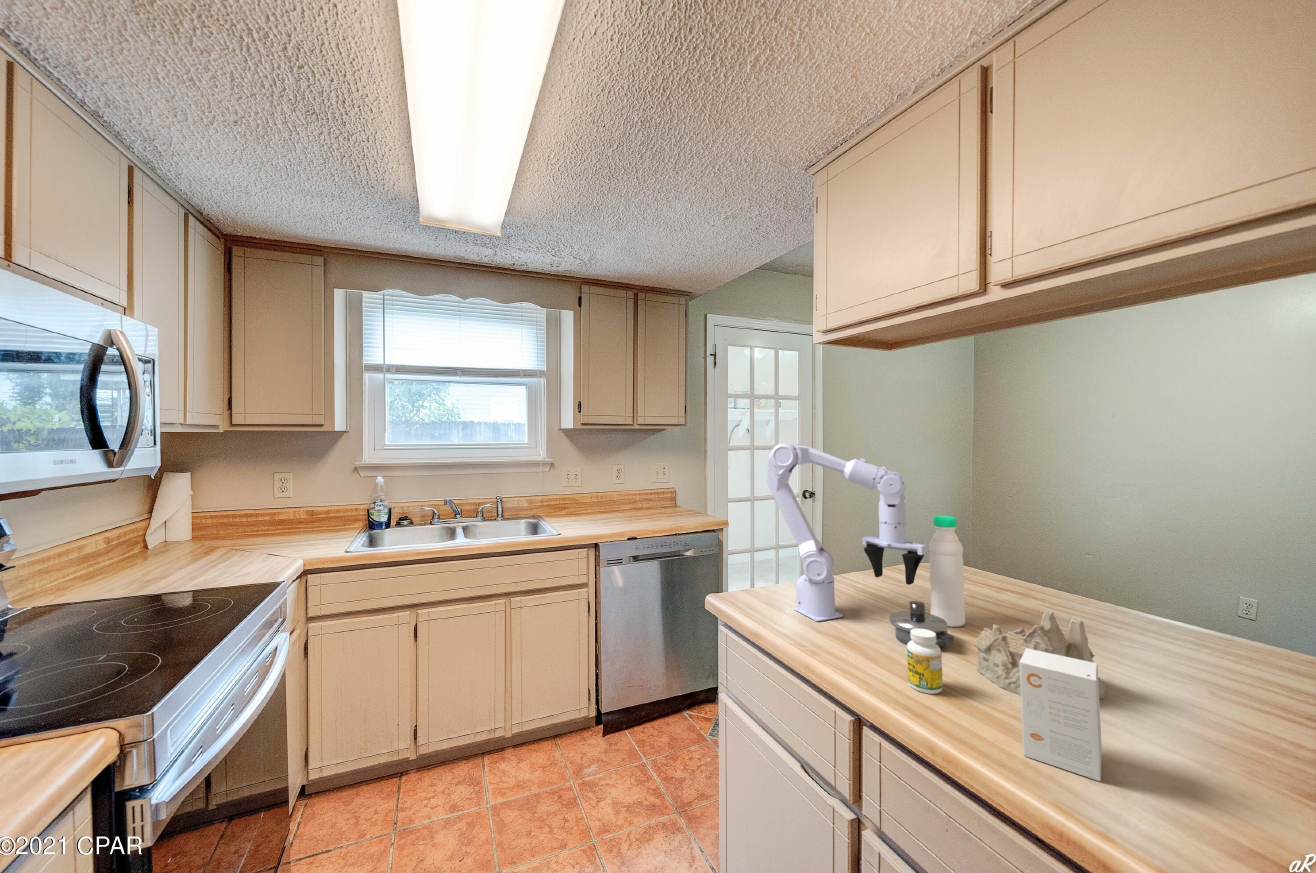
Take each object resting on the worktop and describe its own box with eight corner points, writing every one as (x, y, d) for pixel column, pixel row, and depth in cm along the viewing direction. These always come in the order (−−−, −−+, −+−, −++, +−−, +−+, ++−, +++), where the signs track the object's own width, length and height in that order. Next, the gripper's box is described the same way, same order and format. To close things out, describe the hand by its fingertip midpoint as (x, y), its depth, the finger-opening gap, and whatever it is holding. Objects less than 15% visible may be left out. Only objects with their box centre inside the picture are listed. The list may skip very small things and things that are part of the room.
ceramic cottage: (1125, 698, 80) (1113, 606, 81) (1042, 714, 78) (1030, 619, 78) (1037, 662, 96) (1028, 585, 97) (964, 674, 93) (955, 595, 94)
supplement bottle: (950, 691, 84) (948, 636, 84) (925, 697, 82) (923, 640, 83) (924, 677, 89) (922, 625, 89) (901, 682, 88) (899, 629, 88)
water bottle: (972, 627, 111) (969, 518, 111) (941, 628, 111) (937, 519, 112) (954, 616, 118) (951, 514, 119) (924, 617, 118) (921, 514, 119)
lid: (878, 618, 109) (877, 598, 109) (918, 612, 112) (917, 592, 112) (917, 637, 98) (916, 614, 98) (960, 630, 101) (959, 608, 101)
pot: (877, 631, 110) (877, 616, 110) (911, 624, 114) (910, 609, 114) (932, 657, 97) (932, 640, 97) (968, 649, 100) (968, 632, 100)
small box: (1102, 758, 66) (1099, 662, 66) (1101, 783, 61) (1098, 680, 61) (1027, 735, 72) (1025, 646, 72) (1021, 756, 67) (1018, 661, 67)
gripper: (854, 520, 118) (856, 576, 118) (914, 528, 106) (916, 590, 106) (870, 517, 122) (872, 571, 122) (930, 524, 111) (932, 584, 110)
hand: (893, 579), depth 115 cm, fingers open, 7 cm apart
